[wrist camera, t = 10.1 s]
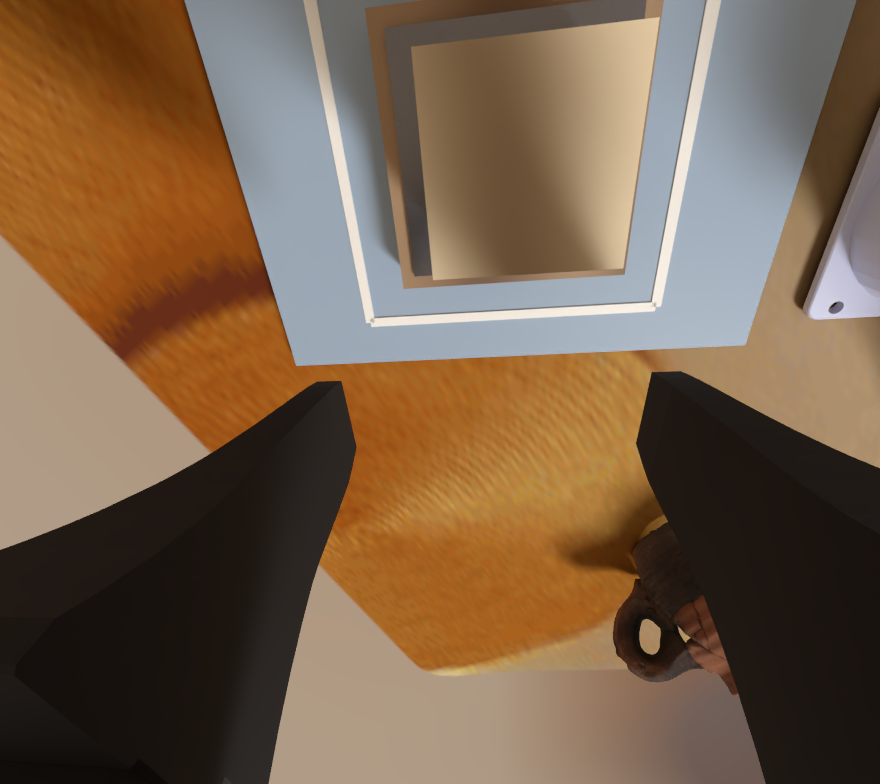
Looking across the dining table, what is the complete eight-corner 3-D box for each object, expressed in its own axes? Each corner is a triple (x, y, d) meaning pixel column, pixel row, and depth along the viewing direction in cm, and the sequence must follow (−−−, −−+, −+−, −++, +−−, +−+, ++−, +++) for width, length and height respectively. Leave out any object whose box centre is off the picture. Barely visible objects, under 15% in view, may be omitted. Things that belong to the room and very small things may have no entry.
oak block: (594, 53, 12) (660, 17, 8) (579, 224, 14) (623, 268, 10) (433, 71, 12) (411, 46, 8) (445, 234, 15) (432, 280, 10)
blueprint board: (926, -270, 10) (1049, -375, 8) (738, 339, 19) (772, 368, 16) (155, -129, 12) (86, -183, 10) (300, 360, 21) (280, 387, 19)
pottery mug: (744, 463, 23) (911, 616, 18) (735, 504, 30) (852, 621, 25) (561, 583, 25) (664, 753, 20) (594, 595, 32) (676, 721, 27)
